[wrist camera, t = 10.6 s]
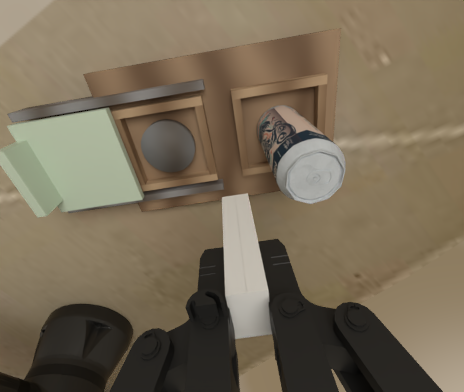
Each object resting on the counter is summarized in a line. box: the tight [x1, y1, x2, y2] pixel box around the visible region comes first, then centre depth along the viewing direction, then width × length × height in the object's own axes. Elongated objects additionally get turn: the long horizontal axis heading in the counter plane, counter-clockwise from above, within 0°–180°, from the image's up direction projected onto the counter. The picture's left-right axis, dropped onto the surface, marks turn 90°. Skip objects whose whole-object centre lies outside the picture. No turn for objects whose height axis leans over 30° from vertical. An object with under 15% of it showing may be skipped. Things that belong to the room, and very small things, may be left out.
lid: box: [0, 108, 144, 217], centre depth 24 cm, size 10×10×4 cm
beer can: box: [257, 105, 345, 204], centre depth 21 cm, size 5×5×12 cm
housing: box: [7, 28, 341, 213], centre depth 27 cm, size 32×16×3 cm, turn 99°
